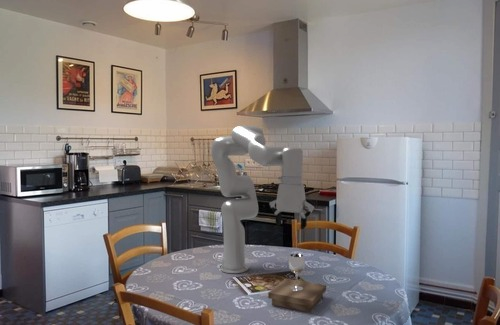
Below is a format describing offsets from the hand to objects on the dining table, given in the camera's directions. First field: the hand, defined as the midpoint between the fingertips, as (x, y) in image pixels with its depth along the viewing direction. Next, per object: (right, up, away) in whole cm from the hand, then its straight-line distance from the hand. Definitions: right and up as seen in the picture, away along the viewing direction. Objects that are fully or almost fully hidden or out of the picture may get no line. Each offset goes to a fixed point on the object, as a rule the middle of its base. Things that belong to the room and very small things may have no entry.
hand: (290, 226), depth 145 cm
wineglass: (+2, -22, -5) cm, 22 cm away
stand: (+2, -26, -5) cm, 26 cm away
